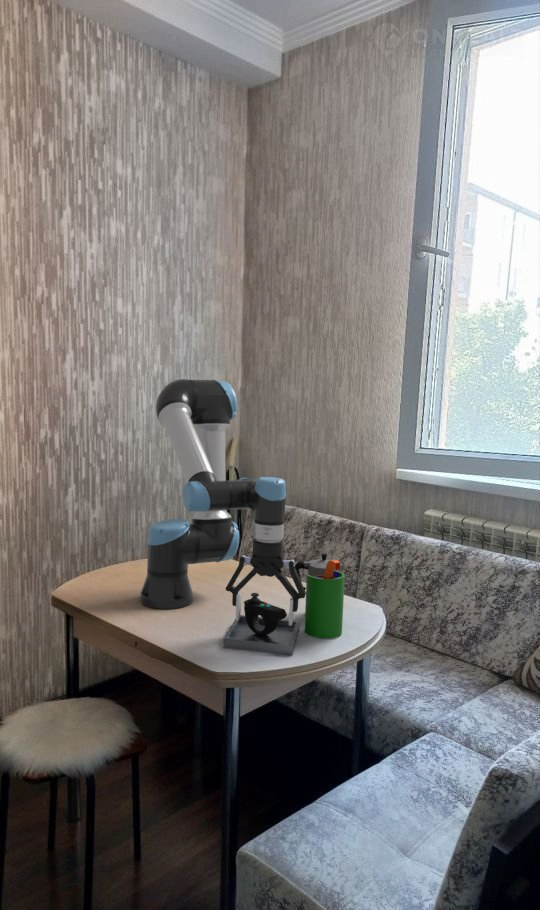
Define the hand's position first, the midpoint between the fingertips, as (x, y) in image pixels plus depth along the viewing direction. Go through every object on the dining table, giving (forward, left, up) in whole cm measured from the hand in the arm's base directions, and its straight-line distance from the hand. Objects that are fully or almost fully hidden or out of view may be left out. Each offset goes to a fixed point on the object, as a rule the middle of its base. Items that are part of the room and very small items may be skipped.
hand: (264, 621), depth 175 cm
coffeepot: (-21, +12, -5) cm, 25 cm away
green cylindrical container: (-9, +15, -5) cm, 18 cm away
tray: (0, 0, -5) cm, 5 cm away
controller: (0, 0, -4) cm, 4 cm away
